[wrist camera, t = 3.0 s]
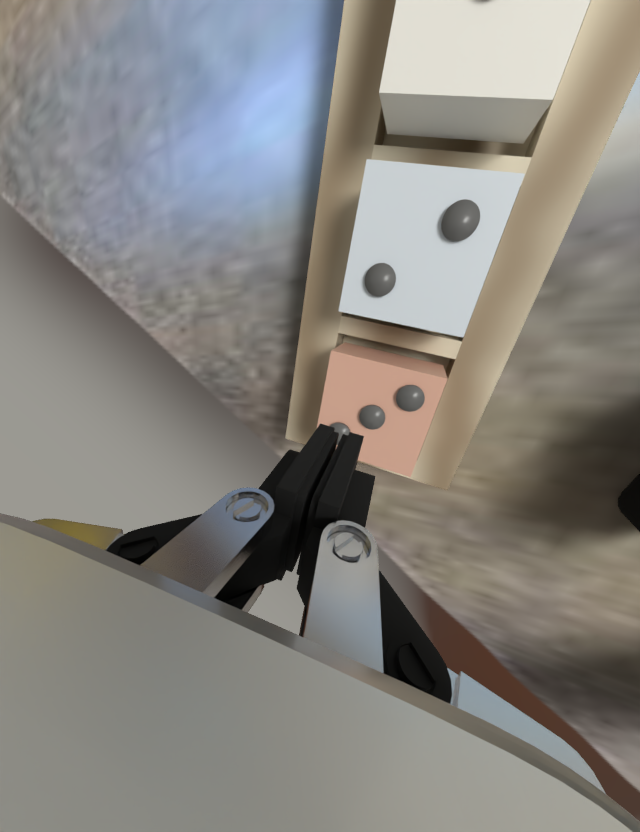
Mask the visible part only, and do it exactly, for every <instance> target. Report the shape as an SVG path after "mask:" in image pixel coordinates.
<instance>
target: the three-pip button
mask: <svg viewBox="0 0 640 832" xmlns="http://www.w3.org/2000/svg"><path fill="white" fill-rule="evenodd" d="M447 379H448V378H447V375H446V372H445V369H444V366H443V365H441V364H436V363H432V362H428V361H424V360H419V359H415V358H411V357H406V356H402V355H398V354H394V353H389V352H385V351H381V350H376V349H372V348H368V347H364V346H359V345H355V344H351V343H346V342H344V343H343V344H341V345H339V346H338V347H336V348H335V349H333V350H331V354H330V359H329V365H328V370H327V375H326V381H325V386H324V392H323V397H322V402H321V408H320V413H319V419H318V424H317V427H318V426H319V425H320V424H324V425H327V426H331V427H334V428H335V430H334V432H338V433H339V436H338V441H337V445H338V443H339V441H340V439H341V437H342V435H343V434H345V435H349V432H352V433H355V434H359V435H362V436H364V438H363V442H362V446H361V450H360V453H359V457H358V461H361V462H365V463H368V464H371V465H374V466H377V467H380V468H383V469H386V470H390V471H393V472H396V473H399V474H402V475H405V476H408V477H411V475H412V472H413V470H414V467H415V464H416V462H417V459H418V456H419V454H420V451H421V448H422V446H423V443H424V440H425V438H426V435H427V432H428V430H429V427H430V425H431V422H432V419H433V417H434V414H435V411H436V409H437V406H438V403H439V401H440V398H441V395H442V393H443V390H444V387H445V385H446V382H447ZM337 445H336V447H337Z"/></svg>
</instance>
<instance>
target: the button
mask: <svg viewBox="0 0 640 832" xmlns="http://www.w3.org/2000/svg"><path fill="white" fill-rule="evenodd" d="M589 3H590V0H396V4H395V9H394V14H393V20H392V25H391V31H390V36H389V41H388V47H387V52H386V57H385V63H384V68H383V74H382V79H381V84H380V90H379V95H380V100H381V105H382V110H383V115H384V120H385V125H386V130H387V134H394V135H408V136H422V137H436V138H450V139H464V140H478V141H491V142H505V143H519V144H523V143H524V142H525V140H526V139H527V137H528V136H529V135H530V133H531V132H532V130H533V129H534V127H535V126H536V124H537V123H538V121H539V120H540V118H541V117H542V115H543V114H544V112H545V111H546V109H547V108H548V106H549V105H550V104H551V102H552V101H553V99H554V96H555V93H556V91H557V88H558V85H559V83H560V80H561V77H562V75H563V72H564V69H565V67H566V64H567V61H568V59H569V56H570V53H571V51H572V48H573V46H574V43H575V40H576V38H577V35H578V32H579V30H580V27H581V24H582V22H583V19H584V16H585V14H586V11H587V8H588V6H589Z"/></svg>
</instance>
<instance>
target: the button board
mask: <svg viewBox="0 0 640 832" xmlns="http://www.w3.org/2000/svg"><path fill="white" fill-rule="evenodd" d="M395 4H396V0H344V7H343V14H342V21H341V29H340V36H339V44H338V51H337V59H336V66H335V73H334V81H333V88H332V96H331V103H330V111H329V118H328V125H327V133H326V140H325V148H324V155H323V163H322V170H321V177H320V185H319V192H318V200H317V207H316V215H315V222H314V230H313V237H312V244H311V252H310V259H309V267H308V274H307V282H306V289H305V296H304V304H303V311H302V319H301V326H300V334H299V341H298V348H297V356H296V363H295V371H294V378H293V386H292V393H291V400H290V408H289V415H288V423H287V430H286V439H289V440H292V441H295V442H298V443H301V444H304V445H306V443H307V442H308V440H309V439H310V437H311V436H312V435H313V433H314V432H315V430H316V429H317V424H318V419H319V413H320V408H321V402H322V397H323V392H324V386H325V381H326V375H327V370H328V365H329V359H330V354H331V350H333V349H335V348H336V347H338V346H339V345H341V344H343V343H344V342H346V343H351V344H355V345H359V346H364V347H368V348H372V349H376V350H381V351H385V352H389V353H394V354H398V355H402V356H406V357H411V358H415V359H419V360H424V361H428V362H432V363H436V364H441V365H443V366H444V369H445V372H446V375H447V378H448V379H447V382H446V385H445V387H444V390H443V393H442V395H441V398H440V401H439V403H438V406H437V409H436V411H435V414H434V417H433V419H432V422H431V425H430V427H429V430H428V432H427V435H426V438H425V440H424V443H423V446H422V448H421V451H420V454H419V456H418V459H417V462H416V464H415V467H414V470H413V472H412V475H411V477H408V476H405V475H402V474H399V473H396V472H393V471H390V470H386V469H383V468H380V467H377V466H374V465H371V464H368V463H365V462H361V461H357V462H360V463H363V464H366V465H370V466H373V467H376V468H379V469H382V470H385V471H388V472H391V473H394V474H398V475H401V476H404V477H407V478H410V479H413V480H416V481H419V482H422V483H426V484H429V485H432V486H435V487H438V488H441V489H444V490H447V491H448V489H449V486H450V484H451V482H452V480H453V478H454V476H455V473H456V471H457V469H458V467H459V465H460V462H461V460H462V458H463V456H464V454H465V451H466V449H467V447H468V445H469V443H470V441H471V438H472V436H473V434H474V432H475V430H476V427H477V425H478V423H479V421H480V419H481V416H482V414H483V412H484V410H485V408H486V406H487V403H488V401H489V399H490V397H491V395H492V392H493V390H494V388H495V386H496V384H497V382H498V379H499V377H500V375H501V373H502V371H503V368H504V366H505V364H506V362H507V360H508V357H509V355H510V353H511V351H512V349H513V347H514V344H515V342H516V340H517V338H518V336H519V333H520V331H521V329H522V327H523V325H524V323H525V320H526V318H527V316H528V314H529V312H530V309H531V307H532V305H533V303H534V301H535V298H536V296H537V294H538V292H539V290H540V288H541V285H542V283H543V281H544V279H545V277H546V274H547V272H548V270H549V268H550V266H551V263H552V261H553V259H554V257H555V255H556V253H557V250H558V248H559V246H560V244H561V242H562V239H563V237H564V235H565V233H566V231H567V229H568V226H569V224H570V222H571V220H572V218H573V215H574V213H575V211H576V209H577V207H578V204H579V202H580V200H581V198H582V196H583V194H584V191H585V189H586V187H587V185H588V183H589V180H590V178H591V176H592V174H593V172H594V170H595V167H596V165H597V163H598V161H599V159H600V156H601V154H602V152H603V150H604V148H605V145H606V143H607V141H608V139H609V137H610V135H611V132H612V130H613V128H614V126H615V124H616V121H617V119H618V117H619V115H620V113H621V110H622V108H623V106H624V104H625V102H626V100H627V97H628V95H629V93H630V91H631V89H632V86H633V84H634V82H635V80H636V78H637V76H638V73H639V71H640V0H590V3H589V6H588V8H587V11H586V14H585V16H584V19H583V22H582V24H581V27H580V30H579V32H578V35H577V38H576V40H575V43H574V46H573V48H572V51H571V53H570V56H569V59H568V61H567V64H566V67H565V69H564V72H563V75H562V77H561V80H560V83H559V85H558V88H557V91H556V93H555V96H554V99H553V101H552V102H551V104H550V105H549V106H548V108H547V109H546V111H545V112H544V114H543V115H542V117H541V118H540V120H539V121H538V123H537V124H536V126H535V127H534V129H533V130H532V132H531V133H530V135H529V136H528V137H527V139H526V140H525V142H524V143H523V144H519V143H505V142H491V141H478V140H464V139H450V138H436V137H422V136H408V135H394V134H387V130H386V125H385V120H384V115H383V110H382V105H381V100H380V95H379V90H380V84H381V79H382V74H383V68H384V63H385V57H386V52H387V47H388V41H389V36H390V31H391V25H392V20H393V14H394V9H395ZM367 159H371V160H382V161H393V162H404V163H415V164H426V165H436V166H447V167H458V168H469V169H480V170H491V171H502V172H513V173H523V174H525V175H524V178H523V181H522V183H521V186H520V189H519V191H518V194H517V197H516V199H515V202H514V205H513V207H512V210H511V212H510V215H509V218H508V220H507V223H506V226H505V228H504V231H503V234H502V236H501V239H500V242H499V244H498V247H497V250H496V252H495V255H494V258H493V260H492V263H491V265H490V268H489V271H488V273H487V276H486V279H485V281H484V284H483V287H482V289H481V292H480V295H479V297H478V300H477V303H476V305H475V308H474V311H473V313H472V316H471V318H470V321H469V324H468V326H467V329H466V332H465V334H464V337H458V336H453V335H449V334H444V333H439V332H434V331H430V330H425V329H420V328H415V327H411V326H406V325H401V324H396V323H392V322H387V321H382V320H378V319H373V318H368V317H363V316H359V315H354V314H349V313H344V312H340V311H339V305H340V300H341V295H342V289H343V284H344V278H345V273H346V268H347V262H348V257H349V251H350V246H351V241H352V235H353V230H354V225H355V219H356V214H357V208H358V203H359V198H360V192H361V187H362V181H363V176H364V171H365V165H366V160H367Z"/></svg>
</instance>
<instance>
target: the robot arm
mask: <svg viewBox="0 0 640 832" xmlns="http://www.w3.org/2000/svg"><path fill="white" fill-rule="evenodd" d="M334 430H335V428H334V427H331V426H327V425H324V424H320V425H319V426H318V427H317V429H316V430H315V432H314V433H313V435H312V436H311V437H310V439H309V440H308V442H307V443H306V445H305V446H304V447H303V449H302V450H301V452H300V453H299V452H296V451H293V450H289V451H288V452H287V453H286V454H285V455H284V457H283V458H282V459H281V461H280V462H279V463H278V464H277V466H276V467H275V468H274V470H273V471H272V472H271V474H270V475H269V476H268V477H267V478H266V480H265V481H264V482H263V484H262V485H261V486H260V487H259V489H256V488H240V489H237V490H234V491H232V492H230V493H228V494H227V495H226V496H224V497H223V498H222V499H221V500H219V501H218V502H217V503H216V504H214V505H213V506H212V507H211V508H210V509H208V511H206V512H205V513H203V514H201V515H197V516H192V517H188V518H183V519H179V520H175V521H170V522H166V523H162V524H158V525H153V526H149V527H145V528H140V529H137V530H134V531H131V532H128V533H127V534H123V530H122V529H117V528H110V527H104V526H97V525H91V524H84V523H78V522H72V521H65V520H59V519H42V520H36V521H29V520H26V519H22V518H18V517H14V516H9V515H5V514H0V832H640V822H639V821H638V820H637V819H636V818H635V817H633V816H632V815H631V814H630V813H629V812H627V811H626V810H625V809H624V808H622V807H621V806H620V805H619V804H617V803H616V802H615V801H614V800H612V799H611V798H610V797H609V796H607V795H606V793H605V792H604V790H603V788H602V786H601V785H600V783H599V781H598V779H597V778H596V776H595V774H594V772H593V771H592V769H591V768H590V767H589V766H588V765H587V763H586V762H585V761H584V760H583V758H582V757H581V756H580V755H579V754H578V752H577V751H575V750H574V749H573V748H572V747H571V746H570V745H568V744H567V743H566V742H565V741H564V740H562V739H561V738H560V737H558V736H557V735H555V734H554V733H552V732H551V731H549V730H548V729H546V728H545V727H543V726H542V725H540V724H539V723H537V722H536V721H535V720H533V719H532V718H530V717H529V716H527V715H526V714H524V713H523V712H521V711H520V710H518V709H517V708H515V707H513V706H512V705H511V704H509V703H508V702H506V701H505V700H503V699H502V698H500V697H499V696H497V695H496V694H494V693H493V692H491V691H490V690H488V689H487V688H485V687H484V686H482V685H481V684H479V683H478V682H477V681H475V680H474V679H472V678H471V677H469V676H468V675H466V674H464V673H463V672H462V671H461V672H460V674H459V675H457V674H456V673H454V672H453V671H451V670H450V669H448V668H447V666H446V664H445V663H444V661H443V659H442V657H441V656H440V654H439V652H438V651H437V649H436V648H435V647H434V645H433V644H432V642H431V641H430V640H429V638H428V637H427V636H426V634H425V633H424V631H423V630H422V629H421V627H420V626H419V625H418V623H417V622H416V620H415V619H414V618H413V616H412V615H411V613H410V612H409V611H408V609H407V608H406V607H405V605H404V604H403V602H402V601H401V600H400V598H399V597H398V596H397V594H396V593H395V591H394V590H393V589H392V587H391V586H390V584H389V583H388V582H387V580H386V579H385V577H384V576H383V575H382V573H381V572H380V571H379V568H378V549H377V544H376V541H375V539H374V538H373V536H372V534H371V533H370V532H369V531H368V530H367V529H366V528H365V525H366V520H367V515H368V510H369V505H370V500H371V495H372V490H373V485H374V480H375V476H373V475H370V474H367V473H363V472H360V471H357V470H355V468H356V465H357V461H358V457H359V453H360V450H361V446H362V442H363V438H364V436H362V435H359V434H355V433H352V432H349V435H345V434H343V435H342V437H341V439H340V441H339V443H338V445H337V441H338V436H339V433H338V432H334ZM336 445H337V447H336ZM300 553H301V554H300ZM299 555H300V559H299V565H298V569H297V574H298V575H299V580H298V585H297V590H298V592H299V594H300V597H301V599H302V601H303V603H304V605H305V607H304V611H303V616H302V622H301V627H300V633H299V635H297V634H294V633H292V632H290V631H287V630H285V629H283V628H281V627H278V626H276V625H274V624H272V623H269V622H267V621H265V620H263V619H260V618H258V617H256V616H254V615H251V614H249V613H248V611H249V610H250V609H251V607H252V606H253V604H254V603H255V601H256V600H257V598H258V597H259V595H260V594H261V592H262V590H263V588H264V584H266V583H269V582H271V581H274V580H276V579H278V580H282V578H283V576H284V574H285V571H286V570H288V571H290V572H292V571H293V569H294V566H295V564H296V562H297V559H298V557H299Z"/></svg>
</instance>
